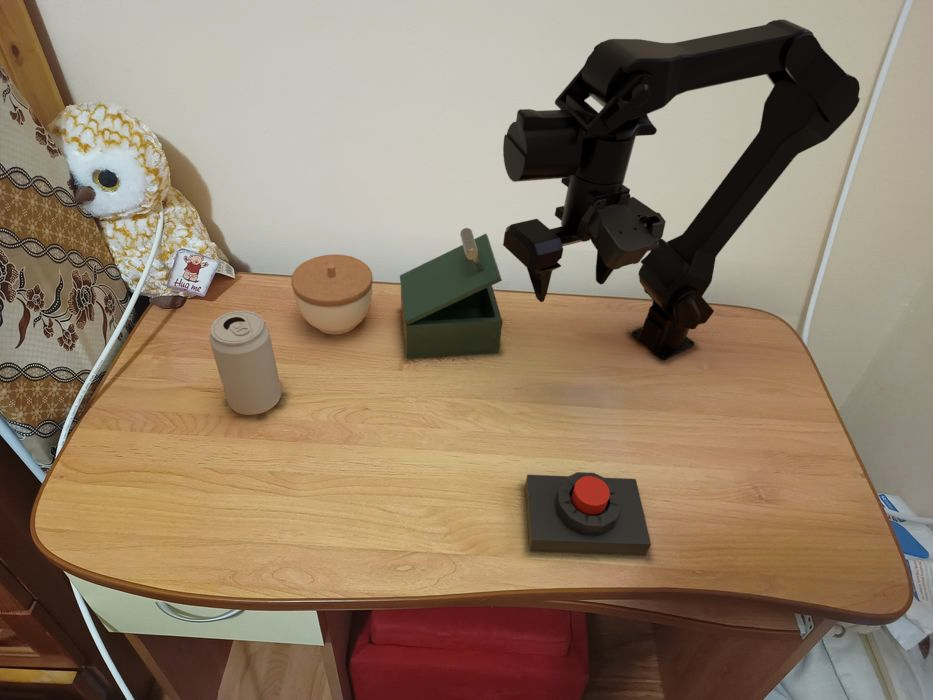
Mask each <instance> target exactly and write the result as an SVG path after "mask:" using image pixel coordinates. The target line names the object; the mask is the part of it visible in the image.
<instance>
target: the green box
mask: <svg viewBox="0 0 933 700" xmlns="http://www.w3.org/2000/svg"><path fill="white" fill-rule="evenodd" d="M400 309H401V310H400V313H401V321H402V329H403V338H404V346H405V347H404V348H405V357H406V359H407V360H408V359H423V358H439V357H440V358H441V357H455V356H457V357H458V356H473V355H488V354H491V355H492V354H499V352H500V344H501V335H502V327H503V319H502V315H501V311H500V308H499V305H498V301H497V298H496V294H495V291H494V288H493V285H492V286H490V287H487V288H485V289H483V290H481V291H479V292H477V293H475V294H472V295H470V296H468V297H466V298H464V299H462V300H460V301H458V302H455V303H453V304H451V305H449V306H447V307H445V308H443V309H441V310H438V311H436V312H434V313H432V314H430V315H428V316H426V317H423V318H421V319H419V320H417V321H415V322H413V323H411V324H409V325H407V323H406V322H405V316H404V308H403V299H402V291H401V290H400Z"/></svg>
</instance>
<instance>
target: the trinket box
mask: <svg viewBox="0 0 933 700" xmlns="http://www.w3.org/2000/svg"><path fill="white" fill-rule="evenodd" d="M290 280H291V281H290V282H291V283H290V284H291V288H292V291H293V295H294V299H295V303H296V306H297V308H298V311H299V314H301V316H302V318H303V319H304V320H305V321H306V322H307V323H308V324H309V325H310V326H312V327H313V328H315V329H317V330H318V331H320V332H322V333H324V334H327V335H342V334H347V333H349V332H351V331H353V330H354V329H355V328H356V327H357V326H358V325H359V324H361V322H363V320H364V319H365V317H366V316H367V315H368V313H369V310H370V307H371V304H372V299H373V280H374V279H373V271H372V270H371V268H370V267H369V265H367V264H366V263H365V262H364V261H362V260H361V259H359V258H357V257H353V256H351V255H345V254H324V255H319V256H315V257H312V258H310V259H308V260H305V261H304V262H302V263H301V264H300V265H298V266H297V267H296V268H295V269H294V270H293V273H292V274H291V278H290Z"/></svg>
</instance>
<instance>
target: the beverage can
mask: <svg viewBox="0 0 933 700" xmlns="http://www.w3.org/2000/svg"><path fill="white" fill-rule="evenodd" d="M209 343H210V347H211V351H212V354H213V358H214V361H215V365H216V367H217V371H218V375H219V377H220V382H221V384H222V388H223V392H224V395H225V397H226V402H227V404H228V406H229V408H230V409H231V410H232V411H234V412H236V413H238V414H240V415H245V416H254V415H261V414H263V413H266V412H268V411H270V410H272V408H274V407H275V406H276V405H277V404H278V402H279V401H280V400H281V397H282V387H281V382H280V377H279V372H278V368H277V362H276V357H275V354H274V348H273V343H272V338H271V332H270V328H269V326H268V325H267V323H266V322H265V321H264V318H263V317H262V316H261V315H260V314H258V313H257V312H254V311H251V310H242V309H241V310H233V311H229V312H226V313H224V314H222V315H219V316H218V317H217V318H216V319H215V320H214V321H213V322H212V324H211V326H210V334H209Z"/></svg>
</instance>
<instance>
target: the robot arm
mask: <svg viewBox="0 0 933 700" xmlns="http://www.w3.org/2000/svg"><path fill="white" fill-rule="evenodd" d="M760 76H766V77H767V78H768V79H769V81H770V83H771V84H772V85H773V87H772V89H771V91H770V92H769V94H768V96H767V97H766V99H765V101H764V104H763V108H762V115H761V121H760V126H759V131H758V132H757V134H756V136H755V137H754V138H753V139H752V140H751V142H750V143H749V144H748V145H747V147H746V149H745V150H744V151H743V153H742V154H741V155H740V157H739V158H738V159H737V161H736V162H735V163H734V165H733V166H732V167H731V168H730V170H729V172H728V173H727V174H726V175H725V177H724V178H723V179H722V181H721V182H720V184H719V185H718V186H717V188H716V189H715V190H714V191H713V192H712V194H711V196H710V197H709V198H708V200H707V201H706V202H705V204H704V205H703V206H702V208H701V209H700V210H699V211H698V213H697V215H696V216H695V217H694V219H692V221H691V223H690V224H689V225H688V227H687V228H686V229H685V230H684V232H682V234H680V235H678V236H676V237H674V238H672V239H669V240H668V241H666V240H665V239H663V235H664V230H665V227H666V222H667V221H666V220H665V219H664V217H663V215H662V214H661V213H660V212H657V211H655V210H654V209H652V208H650V206H648V205H646V204H644V203H643V202H642V201H640V200H639V199H637V198H636V197H634V196H631V194H630V192H631V189H630V188H628V186H626V185H624V183H625V179H626V174H627V171H628V167H629V164H630V160H631V156H632V152H633V150H634V149H633V148H634V145H635V141H636V137H642V136H645V137H646V136H654V135H655V134H657V131H658V129H657V127H656V126H655V125H654V124H653V122H652V121H651V120H650V118H649V114H651V113H654V112H656V111H659V110H660V109H663V108H665V107H666V106H667V105H668V104H669V103H670V102H671V101H672V100H673V99H674V98H675V97H677V96H679V95H682V94H684V93H686V92H690V91H697V90H700V89H705V88H709V87H714V86H719V85H725V84H728V83H733V82H737V81H741V80H746V79H751V78H755V77H756V78H757V77H760ZM860 89H861V87H860V81H859V80H858V79H857V78H856V77H855V76H853V75H851V74H849V73H848V72H846V71H845V70H844V69H843V68H842V67H841V66H840V65H839V64H838V63H837V62H836V60H834V59H833V58H832V56H830V54H828V53H827V51H825V50H824V48H823V47H822V45H821V44H820V42H819V39H817V37H815V35H814V33H813V32H812V31H811V30H810V29H807V28H805V27H803V26H801V25H798V24H796V23H795V22H792V21H789V20H787V19H781V18H779V19H774V20H771V21H769V22H767V23H766V24H763V25H758V26H753V27H747V28H743V29H737V30H732V31H727V32H722V33H717V34H712V35H707V36H701V37H697V38H692V39H687V40H683V41H678V42H659V41H653V40H647V39H641V38H610V39H606V40H604V41H601V42H600V43H598V44H596V45H595V46H594V47H593V51H591V53H590V54H589V55H588V56H587V58H586V60H585V63H584V64H583V66H582V67H581V69H580V70H579V71H578V72H577V73H576V74H575V76H574V77H573V78H572V80H571V81H570V82H569V83H568V84H567V85H566V87H565V88H564V89H563V90H562V91H561V92H560V94H559V95H558V96H557V97H556V99H555V100H554V105H555V106H556V107H557V108H558V109H551V110H548V109H547V110H535V109H532V108H524V109H522V108H521V109H518V110H517V113H516V119H515V121H513V122H511V124H510V125H509V127H508V129H507V133H506V134H504V137H503V145H502V156H503V163H504V169H505V171H506V174H507V176H508V178H509V179H510V181H512V182H516V183H518V182H529V181H531V182H533V181H543V180H544V181H545V180H556V179H557V180H558V179H560V183H561V184H563V185H564V186H565V187H567V189H566V194H565V200H564V203H563V205H560V206H557V207H555V211H554V216H555V217H556V218H557V219H558V220H559V221H560V226H558V227H552V228H549V227H547V226H546V224H544V223H543V222H542V221H541V220H539V218H533V219H529V220H523V221H520V222H516V223H511V224H510V225H508V226H507V227H505V231H504V234H503V235H504V236H503V242H502V246H503V247H504V248H505V249H506V250H507V251H508V252H510V253H511V254H512V255H513V256H514V257H515V258H516V259H517V260H518V261H519V262H520V263H521V264H522V265H523V266H524V267H525V268H526V270H527V273H528V275H529V280H530V283H531V286H532V289H533V292H534V295H535V299H537V301H539V302H540V303H543V302H545V300H546V297H547V295H548V291H549V286H550V282H551V278H552V274H553V271H555V270H557V269H559V268H561V267H562V264H560V263H559V261H560V260H561V259H562V258H563V252H564V247H567V246H569V245H573V244H578V243H585V242H589V241H591V243H592V244H593V247H594V248H595V249H596V251H597V253H596V261H595V281H596V283H597V284H598V285H604V284H605V283H606V282H607V280H608V279H609V277H610V276H611V274H612V273H613V271H614V270H619V269H621V268H623V267H626V266H630V265H637V264H638V263H641V267H640V268H639V270H638V273H637V275H638V279H639V283H640V285H641V286H642V288H643V291H644V293H646V294H647V295H648V296H649V297H650V298H651V300H652V303H651V306H649V308H648V311H647V315H646V318H645V319H644V322H643V325H642V327H640V328H637V329H635V330H633V331H632V332H631V337H632V338H633V339H635V340H636V341H637V342H639V343H640V344H641V345H642V346H643V347H644V348H646V349H647V350H649V351H650V352H651V353H652V354H653V355H655V356H656V357H657V358H659V359H660V360H661V361H667V360H668V359H671V358H673V357H675V356H677V355H679V354H681V353H683V352H685V351H687V350H689V349H691V348H693V347H694V345H695V342H694V341H693V340H692V339H691V338H689V337H688V334H689V331H690V330H696V329H697V327H698V326H699V325H704V324H706V323H707V322H708V320H709V319H710V318H711V316H712V315H713V314H714V312H715V310H714V309H713V308H712V307H711V305H710V304H709V303H708V302H707V301H706V300H705V298H704V297H703V296H704V295H705V293H706V291H707V290H708V288H709V287H710V285H711V283H712V282H713V276H714V269H715V265H716V258H717V256H718V255H719V254H720V252H721V251H722V250H723V248H724V247H725V246H726V245H727V243H728V242H729V241H730V240H731V238H732V237H733V236H734V234H735V233H736V232H737V231H738V230H739V228H740V227H741V226H742V224H743V223H744V222H745V220H746V219H747V218H748V217H749V216H750V214H751V213H752V212H753V211H754V209H755V208H756V207H757V205H758V204H759V203H760V202H761V200H762V199H763V198H764V197H765V196H766V194H767V193H768V192H769V190H770V189H771V188H772V187H773V186H774V185H775V183H776V182H777V180H779V178H780V177H781V175H782V174H783V173H784V172H785V170H787V168H788V167H789V165H790V164H791V163H792V161H793V160H794V159H795V158H796V157H797V156H798V155H799V154H801V153H803V152H806V151H807V150H809V149H811V148H813V147H815V146H817V145H819V144H822V143H823V142H825V141H827V140H828V139H829V138H830V137H831V136H832V135H833V134H834V133H835V132H836V131H837V130H838V129H839V128H840V127H841V126H842V125H843V124H844V123H845V121H846V120H847V119H849V117H850V116H851V115H852V114H853V113H854V112H855V110H856V109H857V107H858V104H859V103H860V100H861V99H860V97H859V96H860ZM590 97H591V98H592V99H593V100H594V101H595V102H596V103H597V104H599V105H600V106H601V107H602V108H601V110H600V111H598V110H596V109H595V108H594V107H592V106H591V105H590V104H589V103H588V102H587V101H585V100H587V99H588V98H590ZM647 253H648V254H647ZM646 254H647V255H646ZM645 255H646V256H645Z"/></svg>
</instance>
